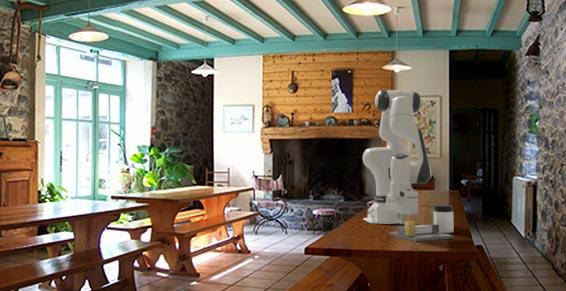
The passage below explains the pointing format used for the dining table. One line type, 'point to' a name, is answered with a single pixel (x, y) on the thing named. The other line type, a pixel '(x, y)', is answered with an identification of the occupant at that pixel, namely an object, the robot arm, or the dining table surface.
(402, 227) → the tongs base
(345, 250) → the dining table surface
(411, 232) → the lock tab
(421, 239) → the slate board
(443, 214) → the jar
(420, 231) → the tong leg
